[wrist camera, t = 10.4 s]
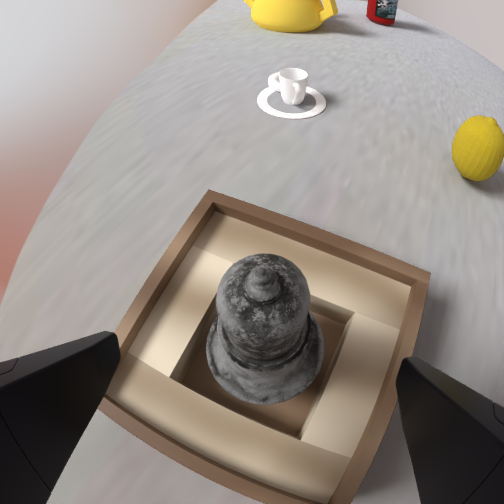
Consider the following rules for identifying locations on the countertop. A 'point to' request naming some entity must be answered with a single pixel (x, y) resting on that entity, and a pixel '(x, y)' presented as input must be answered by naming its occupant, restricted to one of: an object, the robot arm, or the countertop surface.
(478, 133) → the lemon
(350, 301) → the walnut box
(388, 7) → the beverage can
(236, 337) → the grey stone tall piece
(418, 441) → the robot arm
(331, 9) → the teapot
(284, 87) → the teacup and saucer
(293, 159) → the countertop surface
